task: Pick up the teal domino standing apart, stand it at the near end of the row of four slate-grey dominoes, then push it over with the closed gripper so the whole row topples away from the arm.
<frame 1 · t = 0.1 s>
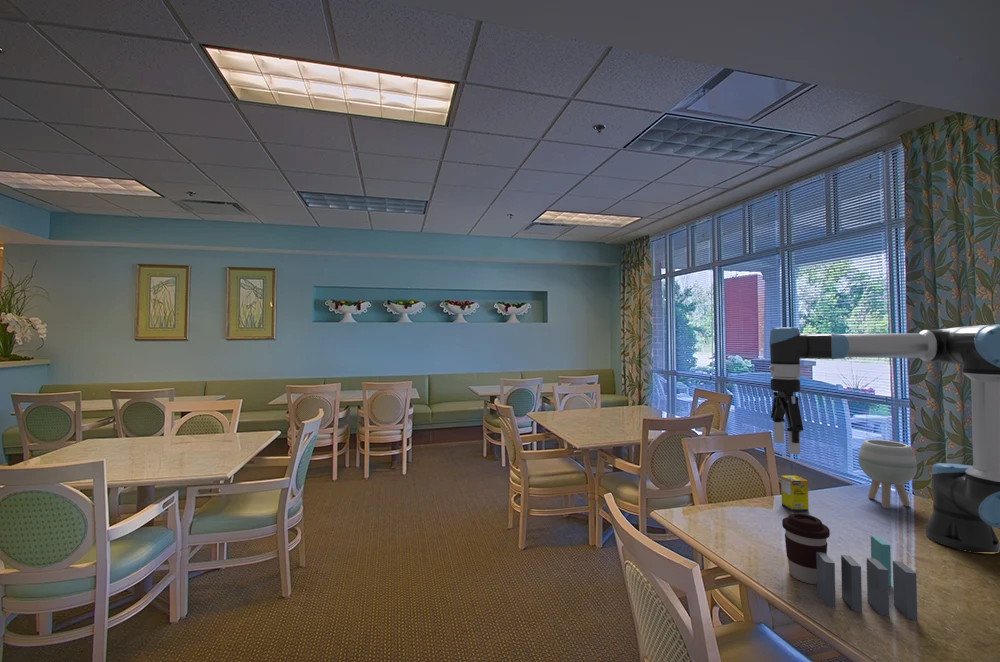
hand: (786, 448, 130), 28 cm above the table, fingers open, 13 cm apart
supplement box: (794, 508, 155), on the table
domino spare: (881, 580, 108), on the table
domino 4: (826, 600, 100), on the table
coffee cup: (806, 578, 110), on the table
domino 3: (851, 604, 99), on the table
domino 1: (905, 612, 96), on the table
domino 2: (878, 608, 97), on the table
planter: (887, 504, 158), on the table
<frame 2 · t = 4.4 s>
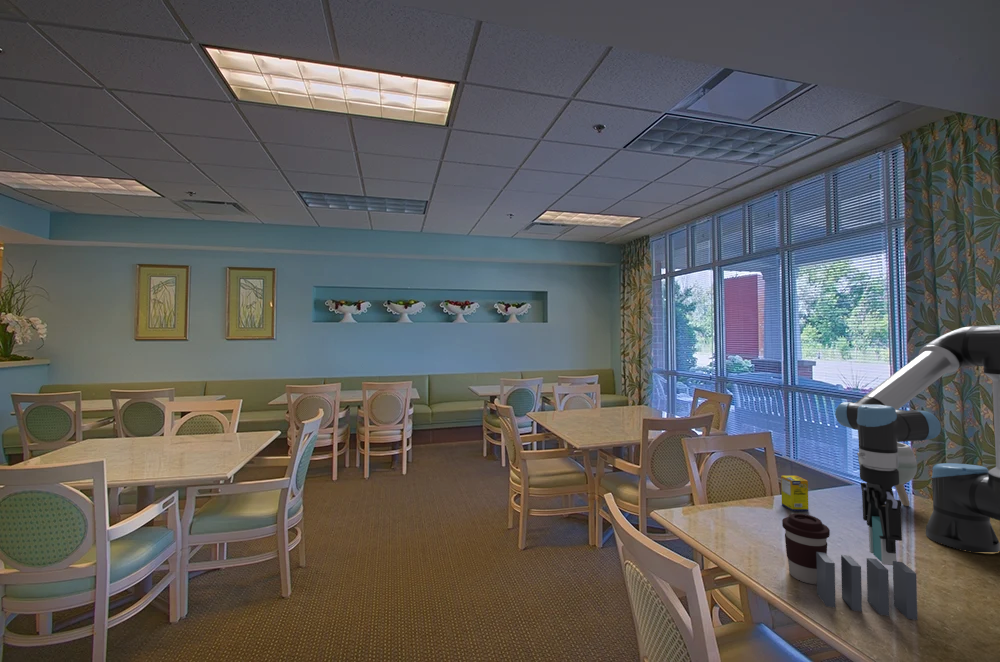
hand: (882, 558, 109), 5 cm above the table, fingers closed on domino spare, 5 cm apart
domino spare: (883, 559, 109), point 5 cm above the table, touching gripper
everything else where it was.
when the fingers open (0 cm above the table, at t = 8.9 s): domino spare stays where it is, on the table.
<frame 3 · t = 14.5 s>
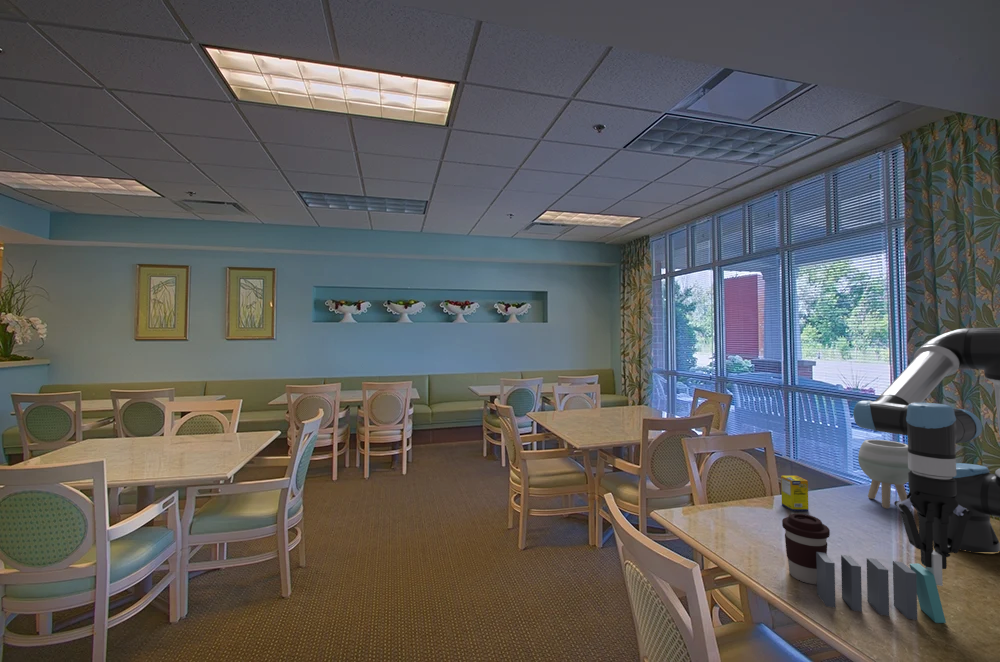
hand: (934, 581, 94), 8 cm above the table, fingers closed
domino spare: (933, 615, 94), on the table, tilted 11°
everything else where it was.
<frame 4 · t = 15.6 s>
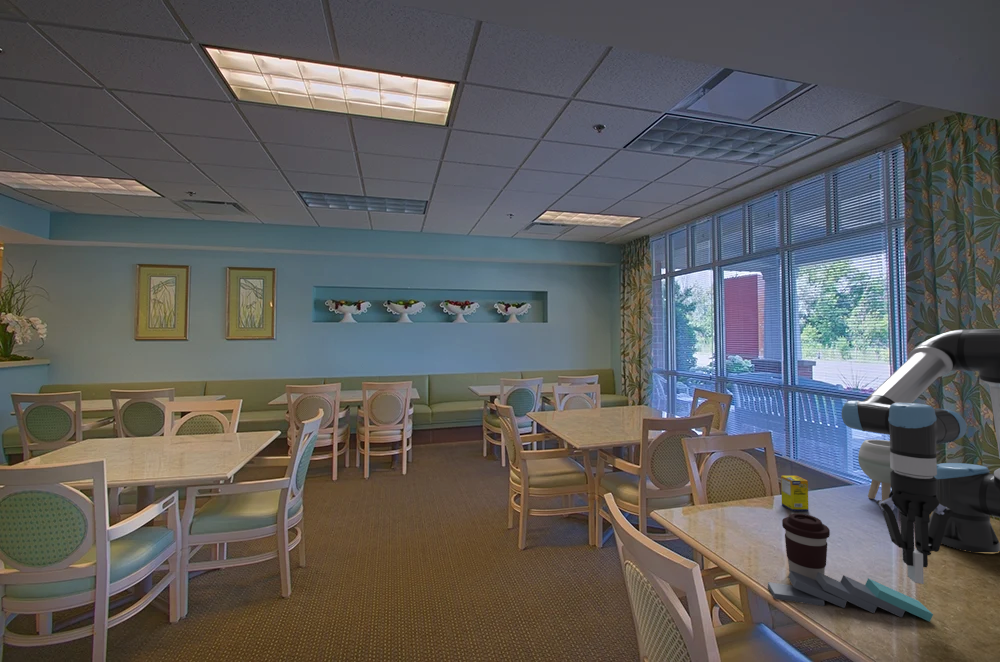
hand: (915, 580, 95), 7 cm above the table, fingers closed
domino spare: (924, 611, 95), point 1 cm above the table, tilted 69°, touching domino 1
domino 4: (819, 598, 100), on the table, tilted 90°
domino 3: (841, 598, 99), point 1 cm above the table, tilted 75°
domino 1: (896, 607, 96), point 1 cm above the table, tilted 69°, touching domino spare
domino 2: (869, 603, 98), point 1 cm above the table, tilted 69°
everything else where it was.
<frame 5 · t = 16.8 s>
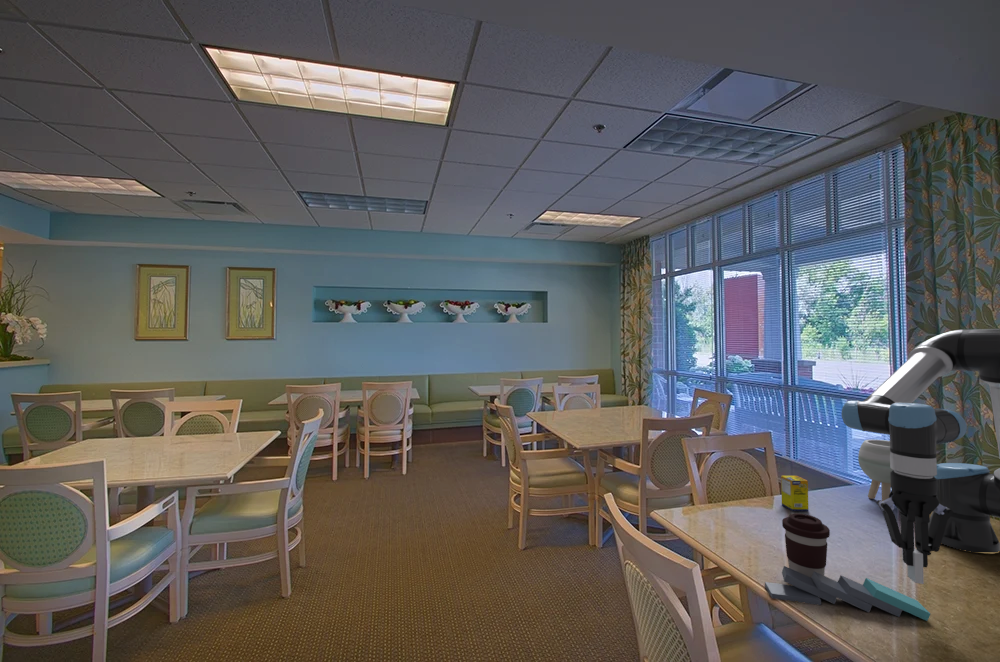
hand: (915, 580, 95), 7 cm above the table, fingers closed
domino 3: (833, 595, 100), point 1 cm above the table, tilted 75°, touching domino 2
domino 2: (865, 602, 98), point 1 cm above the table, tilted 70°, touching domino 3
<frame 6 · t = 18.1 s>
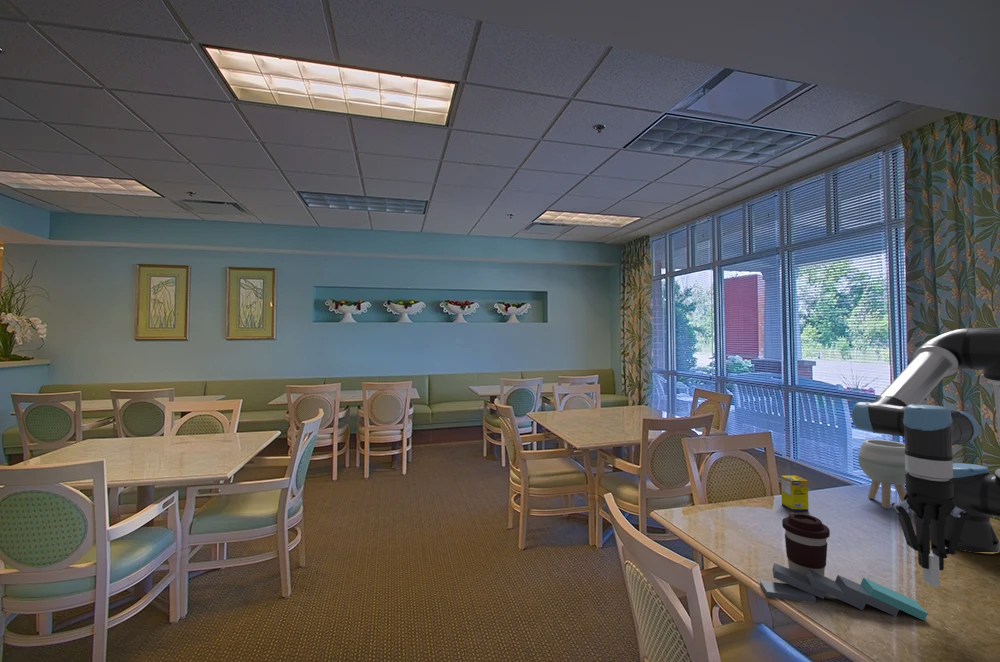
hand: (931, 583, 95), 7 cm above the table, fingers closed
domino 4: (810, 595, 101), on the table, tilted 90°, touching domino 3
domino 3: (822, 590, 102), point 1 cm above the table, tilted 77°, touching domino 2, domino 4
domino 1: (891, 606, 96), point 1 cm above the table, tilted 71°, touching domino 2, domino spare
domino 2: (860, 600, 98), point 1 cm above the table, tilted 71°, touching domino 1, domino 3
everything else where it was.
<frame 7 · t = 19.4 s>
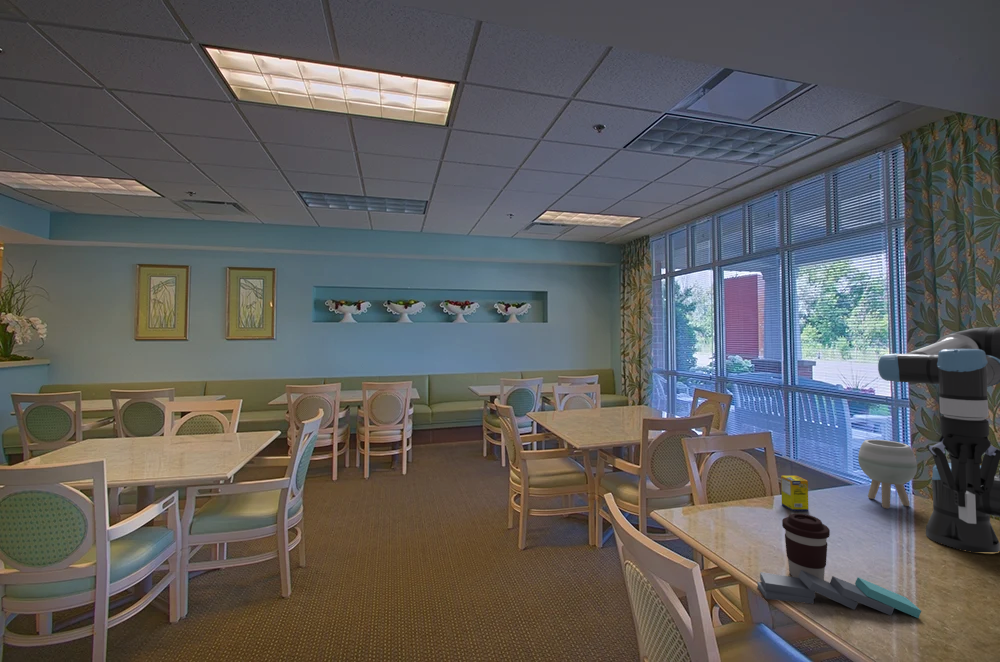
hand: (967, 520, 97), 20 cm above the table, fingers closed
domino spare: (912, 607, 96), point 1 cm above the table, tilted 70°, touching domino 1
domino 3: (811, 588, 101), point 2 cm above the table, tilted 90°, touching domino 2, domino 4
domino 1: (885, 605, 97), point 1 cm above the table, tilted 72°, touching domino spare
domino 2: (849, 599, 99), point 1 cm above the table, tilted 67°, touching domino 3
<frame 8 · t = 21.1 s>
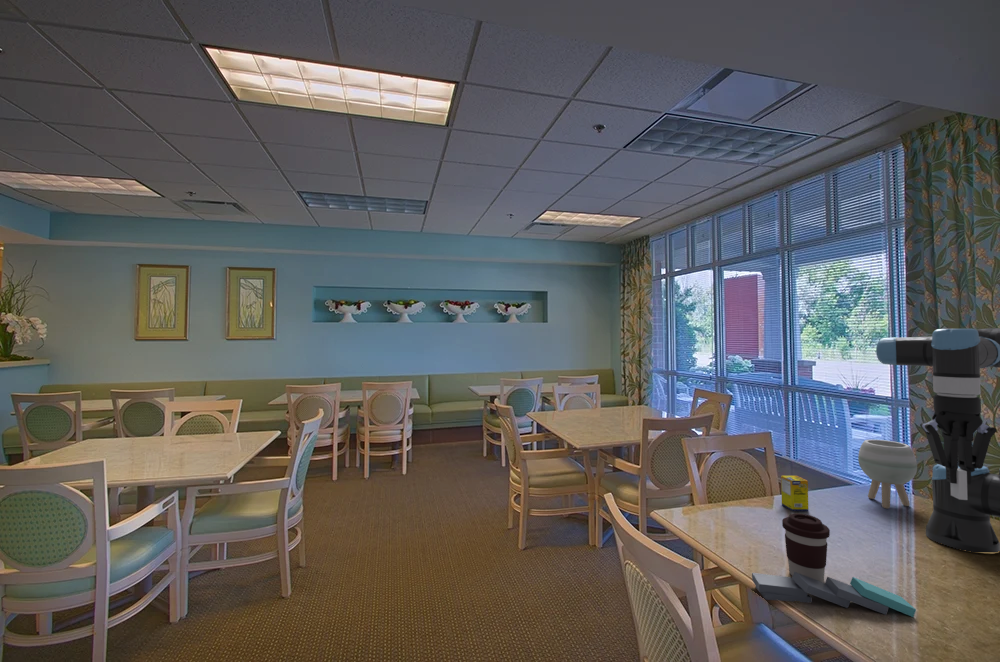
hand: (958, 497, 99), 24 cm above the table, fingers closed
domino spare: (907, 606, 96), point 1 cm above the table, tilted 71°, touching domino 1
domino 4: (805, 594, 102), on the table, tilted 90°
domino 3: (802, 587, 102), point 2 cm above the table, tilted 90°, touching domino 2
domino 1: (880, 604, 97), point 1 cm above the table, tilted 73°, touching domino 2, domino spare
domino 2: (840, 597, 100), point 1 cm above the table, tilted 69°, touching domino 1, domino 3
everything else where it was.
at the end: domino 4 tilted 90°; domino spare tilted 71°; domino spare inside the target area (1.1 cm from its centre), point 0.9 cm above the table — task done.
